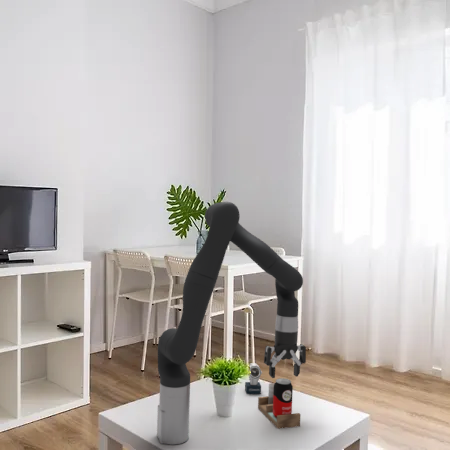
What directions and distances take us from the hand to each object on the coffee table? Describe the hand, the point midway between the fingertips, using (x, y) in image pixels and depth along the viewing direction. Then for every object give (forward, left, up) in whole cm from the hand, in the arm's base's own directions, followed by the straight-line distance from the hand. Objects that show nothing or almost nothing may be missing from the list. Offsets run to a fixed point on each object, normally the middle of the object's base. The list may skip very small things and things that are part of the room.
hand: (284, 376), depth 171 cm
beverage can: (0, 0, -14) cm, 14 cm away
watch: (0, +27, -15) cm, 31 cm away
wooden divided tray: (0, +4, -15) cm, 16 cm away
